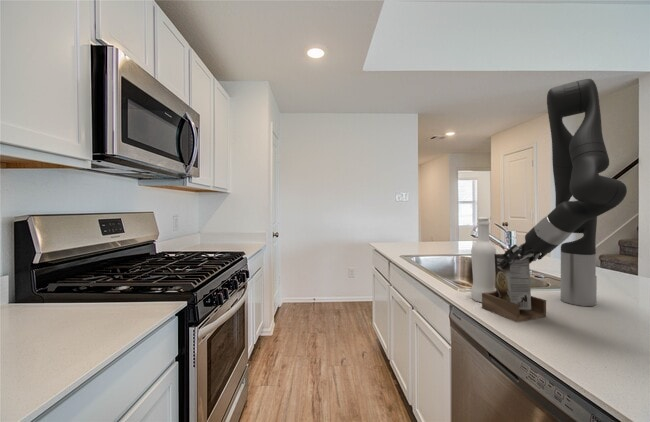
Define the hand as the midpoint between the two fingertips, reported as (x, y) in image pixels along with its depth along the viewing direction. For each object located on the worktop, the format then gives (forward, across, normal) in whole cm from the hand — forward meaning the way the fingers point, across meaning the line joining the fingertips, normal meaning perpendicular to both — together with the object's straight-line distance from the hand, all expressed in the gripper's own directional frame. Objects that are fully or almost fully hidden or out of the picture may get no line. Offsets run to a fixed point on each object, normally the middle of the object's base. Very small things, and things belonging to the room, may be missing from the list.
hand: (511, 266), depth 94 cm
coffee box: (+9, 0, +9) cm, 13 cm away
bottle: (+19, -1, +2) cm, 19 cm away
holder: (+10, 0, +10) cm, 15 cm away
